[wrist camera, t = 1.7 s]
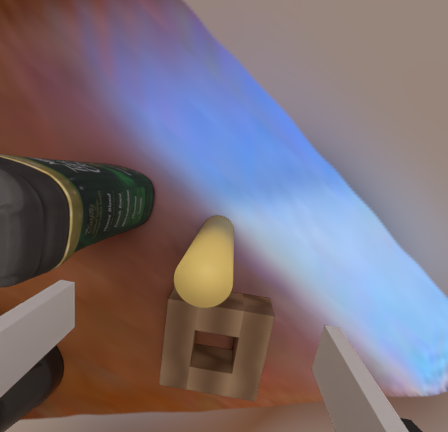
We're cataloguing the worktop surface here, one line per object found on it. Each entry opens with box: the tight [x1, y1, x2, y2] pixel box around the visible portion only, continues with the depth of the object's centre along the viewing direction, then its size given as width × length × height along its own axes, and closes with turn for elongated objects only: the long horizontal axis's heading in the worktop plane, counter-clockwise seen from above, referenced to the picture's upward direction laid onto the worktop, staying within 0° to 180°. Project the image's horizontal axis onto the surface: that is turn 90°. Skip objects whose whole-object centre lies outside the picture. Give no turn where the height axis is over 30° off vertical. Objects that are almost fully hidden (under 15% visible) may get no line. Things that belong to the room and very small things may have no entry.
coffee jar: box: [0, 155, 154, 287], centre depth 20 cm, size 10×8×19 cm
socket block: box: [159, 287, 275, 401], centre depth 30 cm, size 14×14×4 cm
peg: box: [174, 215, 234, 308], centre depth 22 cm, size 4×4×14 cm
